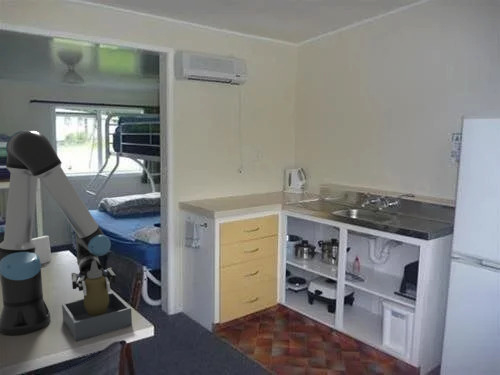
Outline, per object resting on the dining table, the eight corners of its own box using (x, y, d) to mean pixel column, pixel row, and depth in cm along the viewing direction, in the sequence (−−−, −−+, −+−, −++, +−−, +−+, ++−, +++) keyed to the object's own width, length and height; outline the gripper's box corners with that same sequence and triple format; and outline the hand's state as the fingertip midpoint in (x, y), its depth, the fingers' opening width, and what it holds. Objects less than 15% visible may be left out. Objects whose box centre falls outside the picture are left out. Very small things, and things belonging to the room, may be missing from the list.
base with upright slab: (44, 257, 214) (42, 234, 212) (54, 259, 209) (53, 236, 208) (27, 262, 206) (25, 238, 205) (38, 264, 202) (36, 240, 200)
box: (131, 325, 137) (131, 308, 136) (75, 341, 126) (74, 322, 126) (114, 307, 151) (113, 292, 150) (63, 320, 141) (61, 304, 140)
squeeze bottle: (83, 310, 140) (79, 259, 138) (108, 306, 144) (105, 256, 141) (85, 320, 133) (81, 266, 131) (111, 315, 136) (108, 262, 134)
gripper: (118, 274, 158) (128, 295, 137) (62, 282, 149) (64, 306, 129) (117, 255, 157) (127, 273, 136) (60, 262, 148) (62, 283, 128)
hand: (97, 289), depth 132 cm, fingers closed on squeeze bottle, 6 cm apart
